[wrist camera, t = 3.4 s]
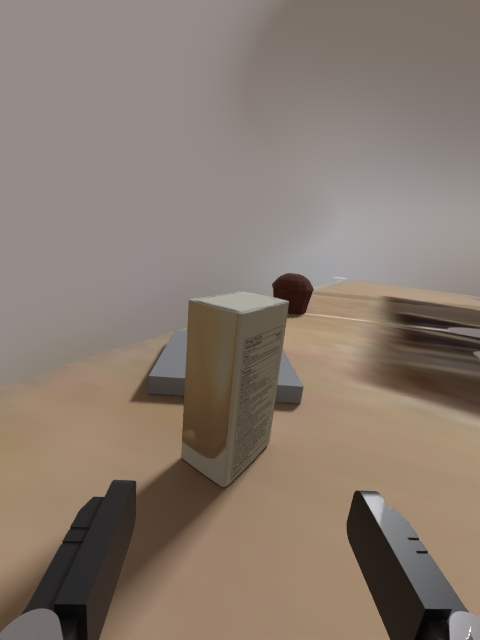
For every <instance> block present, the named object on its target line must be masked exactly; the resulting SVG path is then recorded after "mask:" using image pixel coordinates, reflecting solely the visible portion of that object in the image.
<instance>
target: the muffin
mask: <svg viewBox="0 0 480 640" xmlns="http://www.w3.org/2000/svg"><path fill="white" fill-rule="evenodd" d="M272 286H273V293H274V294H273V295H274V298H278V299H282V300H286V301H289V306H288V313H290V314H303V313H305V312H306V309H307V306H308V303H309V300H310V297H311V295H312V292H313V290H314V289H313V287H312V285H311V283H310V281H309V280H308V279H307V278H306V277H304V276H302V275H299V274H292V273H288V274H284V275H282V276H280V277H279V278H278V279H277V280H276V281H275V282H274V283H273V284H272Z"/></svg>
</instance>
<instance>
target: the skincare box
mask: <svg viewBox="0 0 480 640" xmlns="http://www.w3.org/2000/svg"><path fill="white" fill-rule="evenodd" d="M288 306H289V301H286V300H282V299H278V298H273V297H268V296H263V295H258V294H254V293H248V292H235V293H228V294H222V295H215V296H208V297H202V298H194V299H189V309H188V329H187V351H186V371H185V391H184V413H183V433H182V452H181V457H182V459H184V460H185V461H186V462H188V463H189V464H190V465H192V466H193V467H194V468H196V469H197V470H198V471H200V472H201V473H202V474H204V475H205V476H207V477H208V478H209V479H211V480H212V481H214V482H215V483H217V484H218V485H219V486H221V487H227V486H228V485H229V484H230V483H231V482H232V481H233V480H234V479H235V478H236V477H237V476H238V475H239V474H240V473H241V472H242V471H243V470H244V469H245V468H246V467H247V466H248V465H249V464H250V463H251V462H252V461H253V460H254V459H255V458H256V457H257V456H258V455H259V454H260V453H261V451H262V450H263V449H264V448H265V447H266V446H267V445H268V444H269V441H270V434H271V427H272V420H273V412H274V405H275V398H276V391H277V384H278V377H279V370H280V363H281V356H282V349H283V341H284V335H285V327H286V320H287V313H288Z"/></svg>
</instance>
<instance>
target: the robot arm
mask: <svg viewBox="0 0 480 640" xmlns="http://www.w3.org/2000/svg"><path fill="white" fill-rule="evenodd" d="M135 517H136V481H129V480H113V481H112V483H111V485H110V487H109V489H108V491H107V493H106V495H105V497H93V498H92V499H91V500H90V501H89V502H88V503H87V504H86V505H85V506H84V507H82V508H81V509H80V510H79V512H78V514H77V516H76V518H75V520H74V521H73V523H72V525H71V527H70V530H69V531H68V532H67V534H66V536H65V538H64V540H63V543H62V545H60V547H59V549H58V551H57V553H56V555H55V556H54V558H53V560H52V562H51V564H50V566H49V567H48V569H47V571H46V573H45V575H44V577H43V578H42V580H41V582H40V584H39V586H38V588H37V589H36V591H35V593H34V595H33V597H32V599H31V600H30V602H29V604H28V605H27V607H26V609H25V610H24V611H23V613H22V614H21V615H20V616H19V617H18V618H16V619H15V620H13V621H12V622H11V623H10V624H9V625H7V626H6V627H5V628H4V629H3V630H2V631H1V633H0V640H99V638H100V635H101V632H102V628H103V625H104V622H105V619H106V616H107V613H108V610H109V606H110V603H111V600H112V597H113V594H114V591H115V587H116V584H117V581H118V578H119V575H120V572H121V568H122V565H123V562H124V559H125V556H126V553H127V550H128V546H129V543H130V540H131V537H132V533H133V529H134V524H135ZM347 535H348V539H349V543H350V545H351V547H352V550H353V552H354V555H355V557H356V559H357V562H358V564H359V566H360V569H361V571H362V574H363V576H364V578H365V581H366V583H367V585H368V588H369V590H370V592H371V595H372V597H373V600H374V602H375V604H376V607H377V609H378V611H379V614H380V616H381V618H382V621H383V623H384V626H385V628H386V630H387V633H388V635H389V637H390V640H480V618H479V617H477V616H475V615H473V614H471V613H469V612H468V611H467V609H466V608H465V606H464V605H463V603H462V602H461V600H460V599H459V597H458V596H457V594H456V593H455V591H454V590H453V588H452V587H451V585H450V584H449V582H448V581H447V579H446V578H445V576H444V575H443V573H442V572H441V570H440V569H439V567H438V566H437V564H436V563H435V561H434V560H433V558H432V557H431V555H429V554H428V551H427V549H426V548H425V546H424V545H423V543H422V542H421V541H419V537H418V536H417V534H416V533H415V531H414V530H413V528H412V527H411V525H410V524H409V522H408V521H407V520H406V519H405V518H403V517H402V516H401V515H400V514H399V513H398V512H397V511H396V510H395V509H393V508H388V506H387V504H386V503H385V501H384V500H383V498H382V496H381V495H380V494H379V493H378V492H376V491H355V493H354V495H353V499H352V503H351V507H350V512H349V516H348V520H347Z"/></svg>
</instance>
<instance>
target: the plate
mask: <svg viewBox="0 0 480 640" xmlns="http://www.w3.org/2000/svg"><path fill="white" fill-rule="evenodd" d="M186 351H187V331H177V330H175V331H174V333H173V335H172V336H171V338H170V340H169V342H168V343H167V345H166V347H165V349H164V350H163V352H162V354H161V355H160V357H159V359H158V361H157V362H156V364H155V366H154V367H153V369H152V371H151V373H150V374H149V382H148V394H161V395H176V396H184V391H185V371H186ZM302 391H303V385H302V383H301V382H300V380H299V378H298V376H297V375H296V373H295V371H294V369H293V367H292V366H291V364H290V362H289V360H288V358H287V357H286V355H285V353H284V351H283V350H282V356H281V363H280V370H279V377H278V384H277V391H276V398H275V402H283V403H298V404H300V403H301V397H302Z"/></svg>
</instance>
